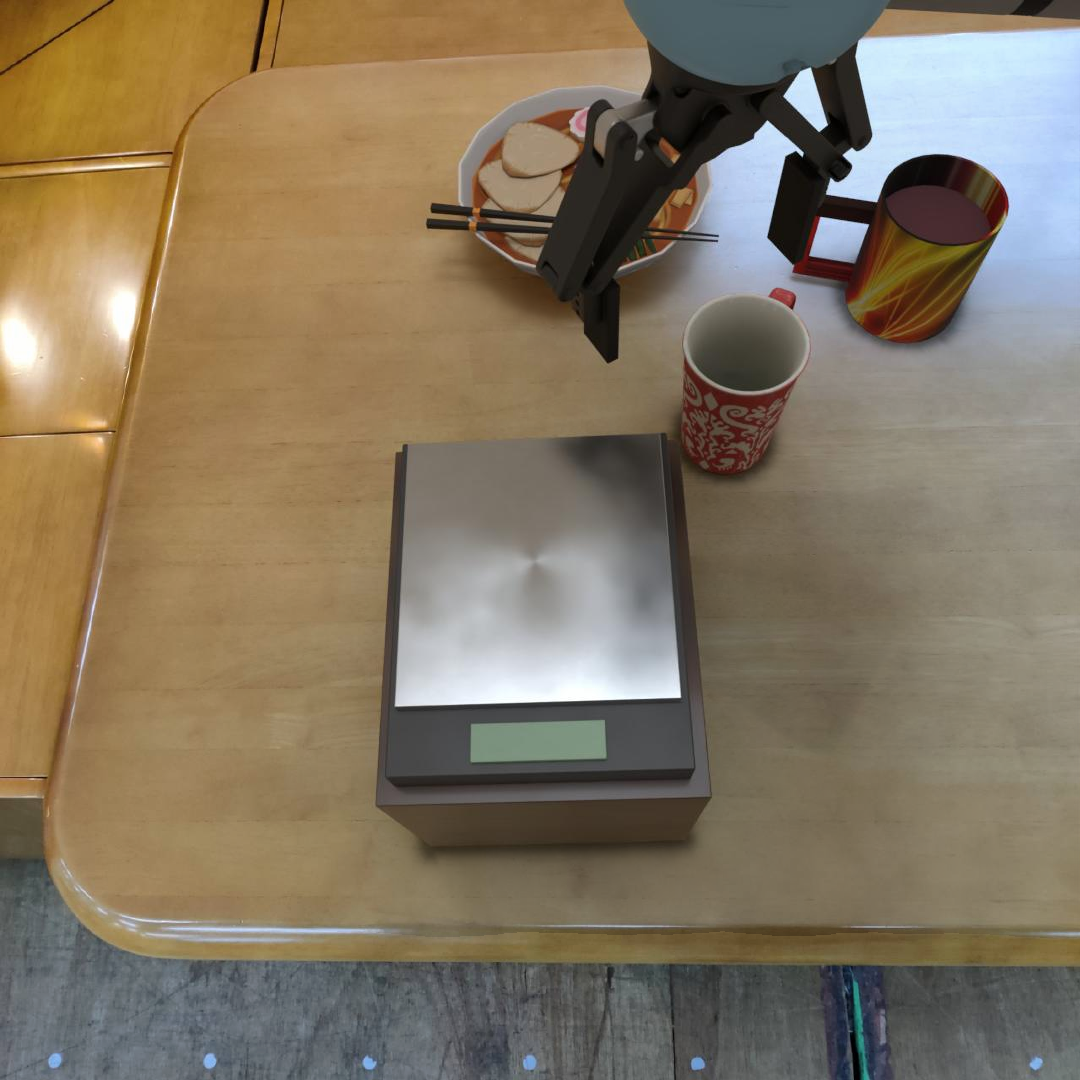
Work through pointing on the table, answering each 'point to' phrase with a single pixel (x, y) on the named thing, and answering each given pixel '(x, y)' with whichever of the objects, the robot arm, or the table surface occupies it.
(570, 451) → the kitchen scale
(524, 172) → the ramen bowl
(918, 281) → the mug
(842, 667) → the table surface
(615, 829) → the riser
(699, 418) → the mug
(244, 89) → the table surface
